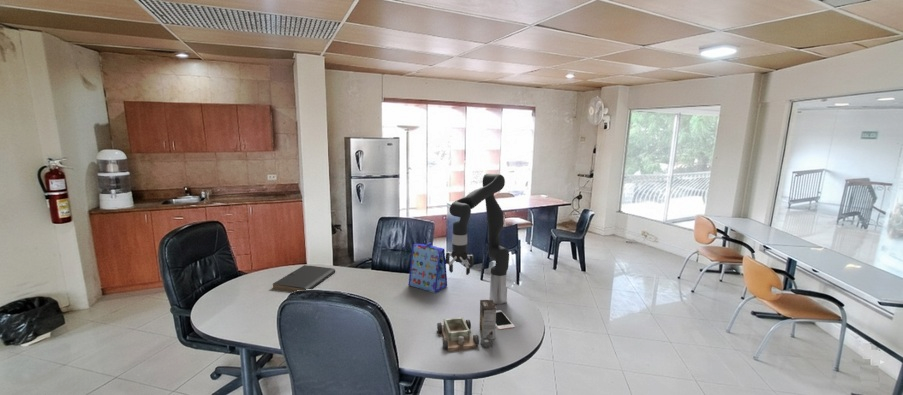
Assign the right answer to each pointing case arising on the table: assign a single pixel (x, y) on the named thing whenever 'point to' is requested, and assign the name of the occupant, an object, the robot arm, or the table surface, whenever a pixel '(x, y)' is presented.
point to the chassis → (457, 334)
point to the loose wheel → (486, 342)
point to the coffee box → (487, 319)
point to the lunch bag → (428, 268)
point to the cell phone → (502, 321)
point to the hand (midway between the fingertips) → (459, 273)
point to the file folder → (303, 278)
